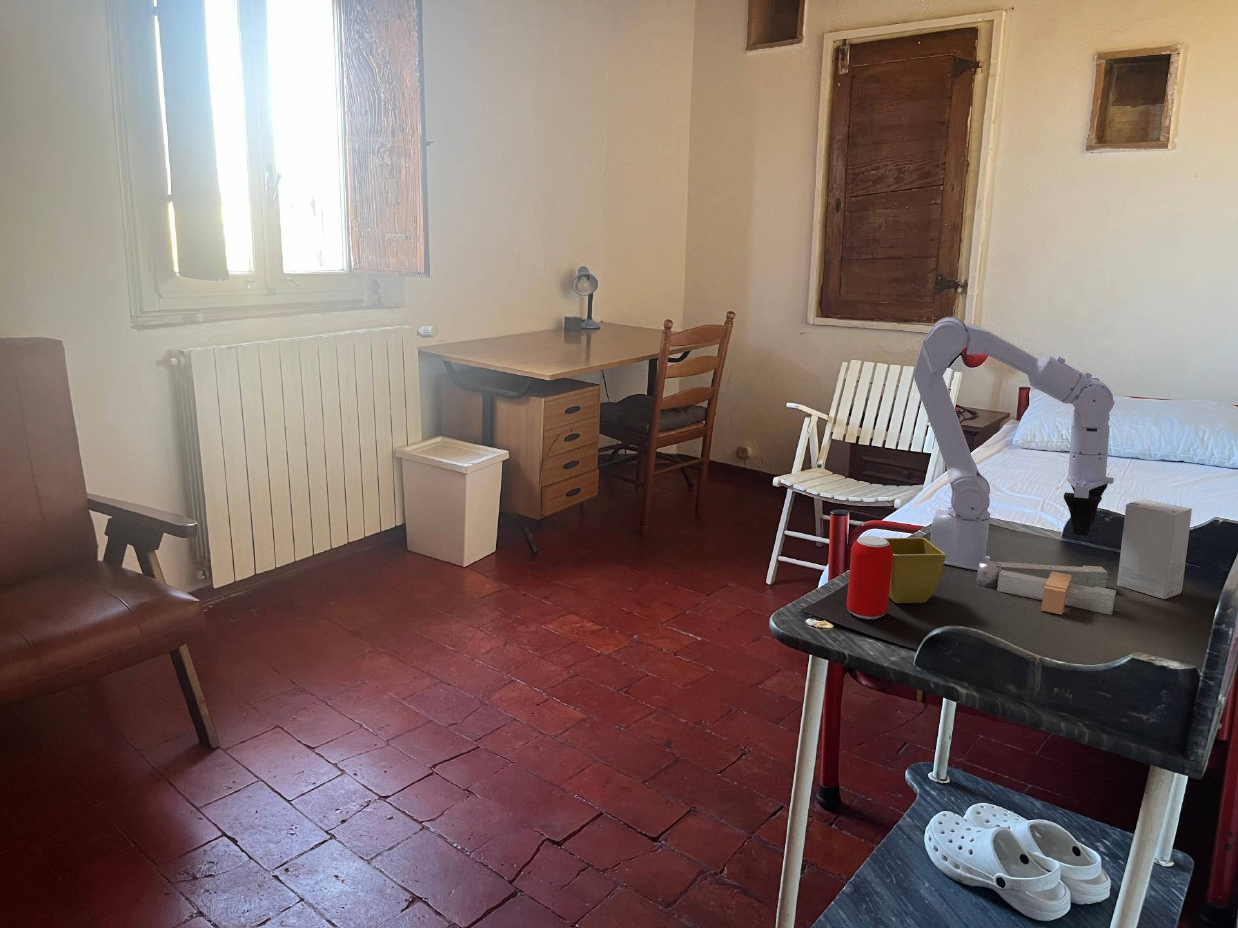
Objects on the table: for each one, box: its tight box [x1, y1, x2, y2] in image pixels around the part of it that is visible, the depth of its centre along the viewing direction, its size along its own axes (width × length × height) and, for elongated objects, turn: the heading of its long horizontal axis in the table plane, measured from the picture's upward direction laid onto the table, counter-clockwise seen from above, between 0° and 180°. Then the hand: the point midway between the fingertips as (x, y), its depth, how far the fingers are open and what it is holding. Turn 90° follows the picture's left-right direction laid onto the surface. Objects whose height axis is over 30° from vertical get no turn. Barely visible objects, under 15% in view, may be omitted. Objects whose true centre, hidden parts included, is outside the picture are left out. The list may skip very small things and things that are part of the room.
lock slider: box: [1040, 571, 1072, 616], centre depth 145 cm, size 3×8×4 cm, turn 148°
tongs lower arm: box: [996, 570, 1117, 616], centre depth 148 cm, size 17×3×3 cm, turn 58°
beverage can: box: [846, 535, 893, 620], centre depth 140 cm, size 6×6×12 cm
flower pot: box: [883, 537, 946, 604], centre depth 147 cm, size 9×9×9 cm
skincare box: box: [1116, 498, 1193, 600], centre depth 152 cm, size 8×6×15 cm
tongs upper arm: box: [976, 560, 1109, 589], centre depth 154 cm, size 21×5×4 cm, turn 83°
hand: (1083, 528), depth 157 cm, fingers open, 7 cm apart
